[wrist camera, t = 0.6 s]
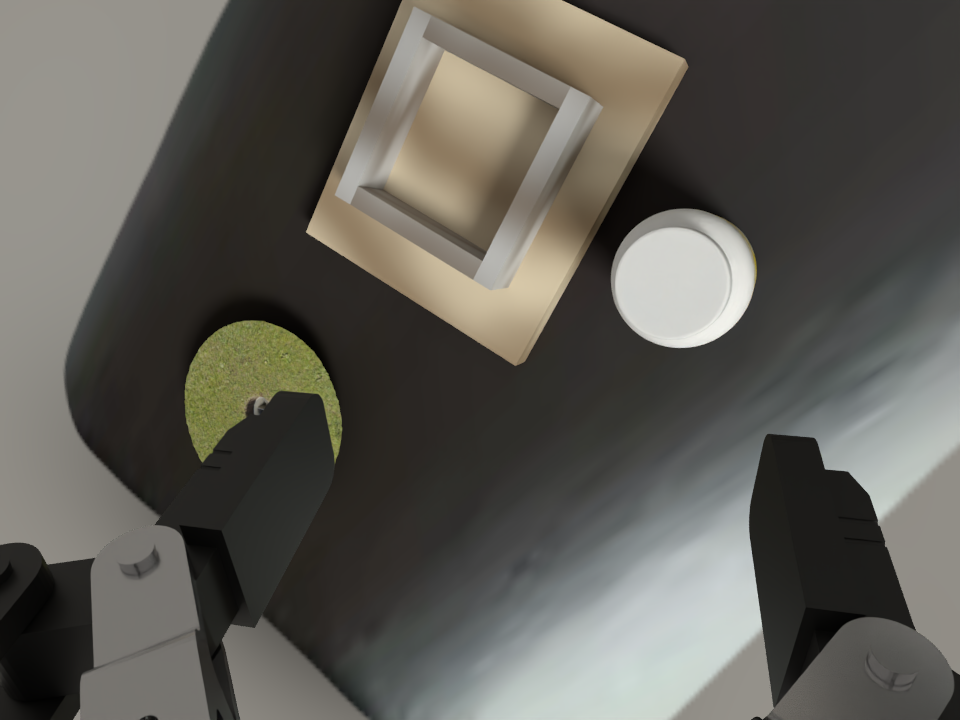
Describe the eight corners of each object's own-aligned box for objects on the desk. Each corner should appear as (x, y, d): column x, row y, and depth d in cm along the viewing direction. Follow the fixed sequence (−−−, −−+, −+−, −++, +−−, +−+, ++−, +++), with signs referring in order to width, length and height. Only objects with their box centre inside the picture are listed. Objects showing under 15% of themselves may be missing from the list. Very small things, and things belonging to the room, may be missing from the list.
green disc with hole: (380, 359, 41) (362, 364, 40) (331, 528, 44) (312, 540, 43) (226, 290, 45) (203, 292, 43) (190, 451, 48) (168, 459, 46)
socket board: (441, -52, 37) (404, -86, 33) (688, 66, 33) (677, 44, 29) (321, 232, 42) (277, 231, 38) (524, 361, 38) (498, 373, 34)
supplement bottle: (636, 326, 36) (590, 354, 27) (640, 214, 35) (594, 203, 26) (754, 332, 34) (746, 363, 25) (761, 213, 33) (757, 201, 24)
